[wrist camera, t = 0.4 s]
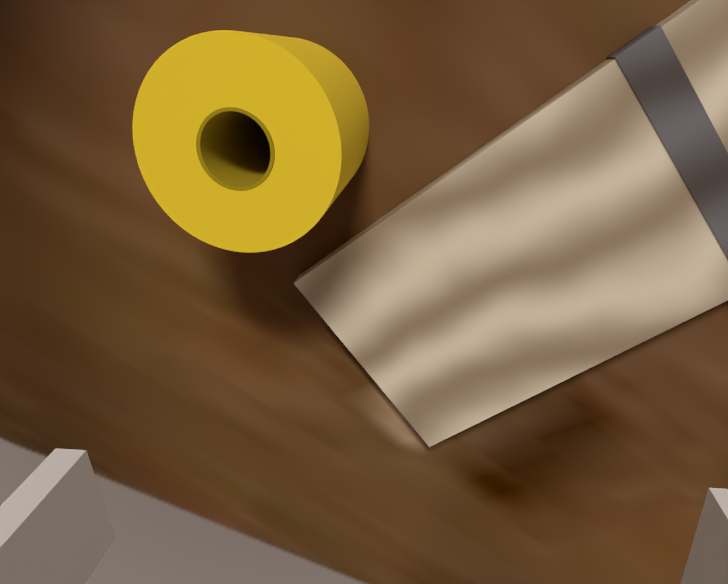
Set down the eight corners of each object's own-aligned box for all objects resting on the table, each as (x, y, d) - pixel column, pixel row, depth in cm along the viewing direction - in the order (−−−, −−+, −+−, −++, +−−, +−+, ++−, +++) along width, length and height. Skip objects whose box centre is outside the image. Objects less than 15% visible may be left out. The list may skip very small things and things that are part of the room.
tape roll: (388, 181, 34) (369, 224, 25) (248, 221, 36) (186, 272, 28) (339, 12, 30) (296, -6, 22) (187, 68, 33) (95, 73, 24)
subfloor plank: (298, 273, 37) (292, 282, 36) (830, -100, 25) (853, -110, 24) (430, 435, 41) (429, 449, 40) (944, 177, 29) (970, 183, 28)
